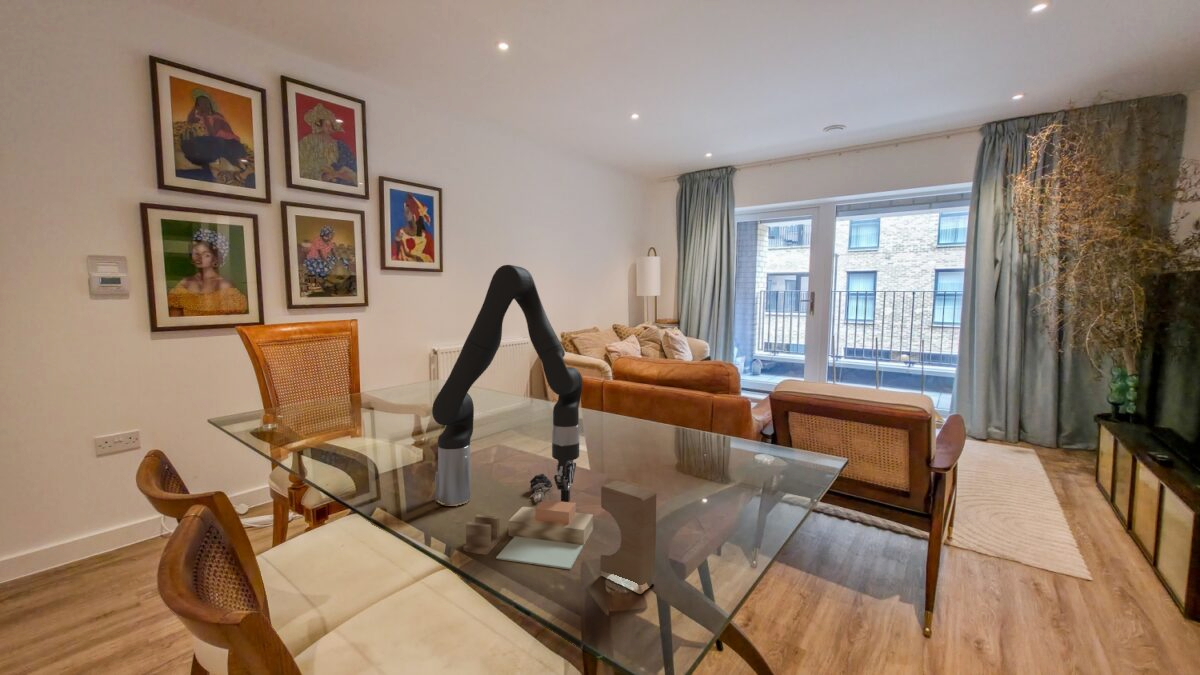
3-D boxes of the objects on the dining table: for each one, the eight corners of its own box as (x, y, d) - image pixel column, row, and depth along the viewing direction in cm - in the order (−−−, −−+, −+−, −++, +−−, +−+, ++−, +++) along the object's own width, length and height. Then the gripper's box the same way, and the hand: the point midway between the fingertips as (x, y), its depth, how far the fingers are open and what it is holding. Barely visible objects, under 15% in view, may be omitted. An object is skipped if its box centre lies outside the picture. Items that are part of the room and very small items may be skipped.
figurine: (551, 502, 139) (556, 480, 153) (541, 484, 138) (547, 464, 153) (531, 512, 139) (537, 489, 154) (521, 494, 138) (528, 472, 153)
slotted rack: (463, 551, 110) (463, 526, 110) (479, 536, 118) (479, 512, 118) (486, 554, 109) (486, 529, 109) (501, 539, 117) (501, 514, 116)
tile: (535, 520, 119) (535, 508, 118) (543, 510, 124) (543, 499, 124) (568, 524, 117) (568, 512, 116) (575, 514, 122) (575, 503, 122)
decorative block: (599, 576, 101) (599, 485, 100) (615, 565, 105) (616, 479, 104) (640, 597, 93) (641, 499, 92) (656, 585, 98) (657, 491, 97)
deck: (508, 535, 118) (508, 520, 118) (522, 520, 127) (522, 506, 127) (583, 545, 114) (583, 529, 114) (592, 529, 122) (593, 514, 122)
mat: (496, 558, 107) (496, 557, 107) (515, 537, 117) (515, 536, 117) (570, 569, 103) (570, 567, 103) (583, 546, 113) (583, 545, 113)
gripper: (560, 433, 135) (560, 491, 136) (544, 445, 122) (544, 510, 123) (585, 435, 133) (584, 494, 134) (571, 448, 120) (571, 513, 121)
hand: (565, 501), depth 128 cm, fingers closed
